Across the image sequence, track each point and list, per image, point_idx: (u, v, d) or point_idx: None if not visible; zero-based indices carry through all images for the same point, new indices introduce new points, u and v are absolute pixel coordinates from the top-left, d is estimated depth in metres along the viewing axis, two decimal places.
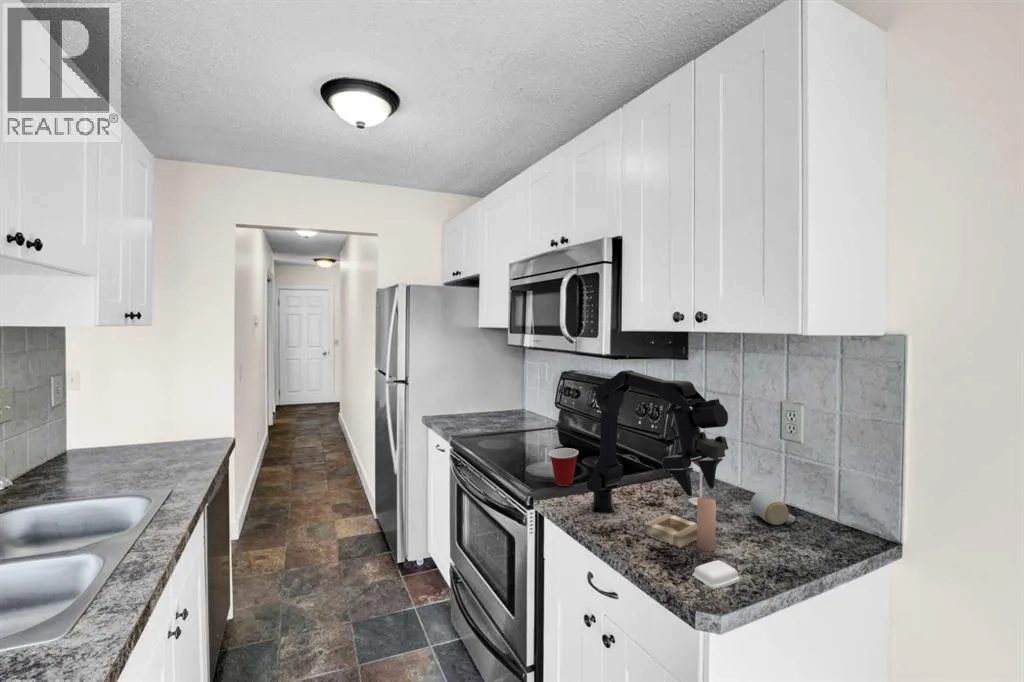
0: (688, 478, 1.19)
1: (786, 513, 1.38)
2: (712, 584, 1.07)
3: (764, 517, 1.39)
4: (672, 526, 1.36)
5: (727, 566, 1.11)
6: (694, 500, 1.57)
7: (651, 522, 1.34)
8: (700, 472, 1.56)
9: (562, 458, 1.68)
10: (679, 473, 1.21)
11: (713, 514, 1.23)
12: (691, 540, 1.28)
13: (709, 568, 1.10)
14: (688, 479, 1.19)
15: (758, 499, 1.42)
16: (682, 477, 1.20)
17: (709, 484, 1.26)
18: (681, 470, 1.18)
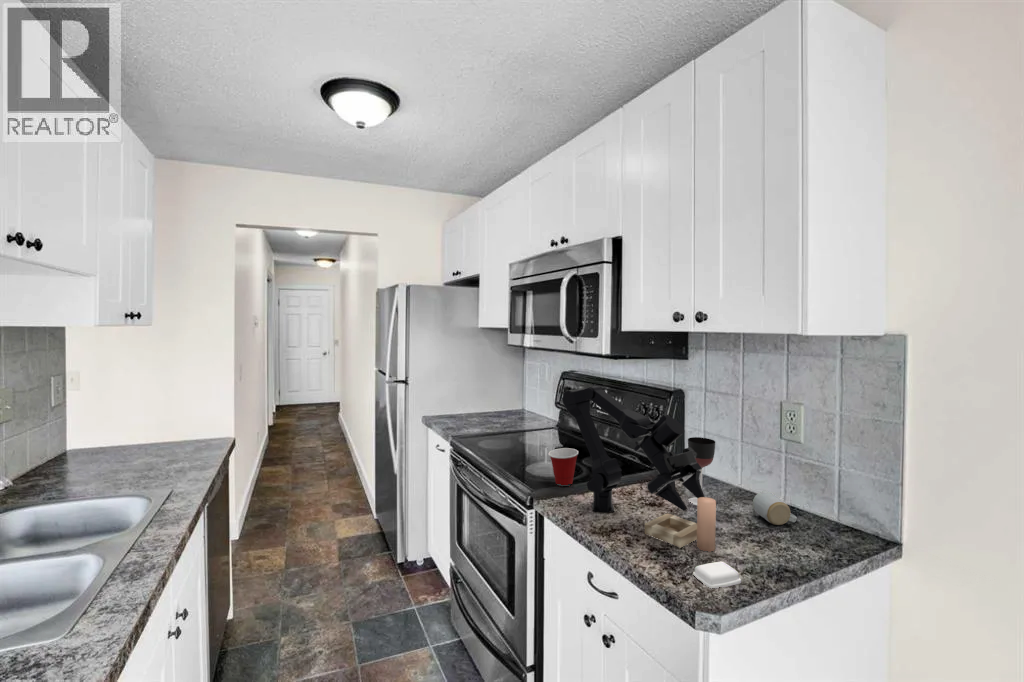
0: (676, 493, 1.25)
1: (788, 513, 1.38)
2: (709, 584, 1.07)
3: (766, 517, 1.39)
4: (672, 526, 1.36)
5: (729, 568, 1.10)
6: (694, 500, 1.57)
7: (651, 522, 1.34)
8: None
9: (562, 458, 1.68)
10: (667, 493, 1.27)
11: (713, 514, 1.23)
12: (691, 540, 1.28)
13: (709, 568, 1.10)
14: (676, 493, 1.25)
15: (760, 499, 1.42)
16: (671, 495, 1.26)
17: None
18: (665, 486, 1.25)
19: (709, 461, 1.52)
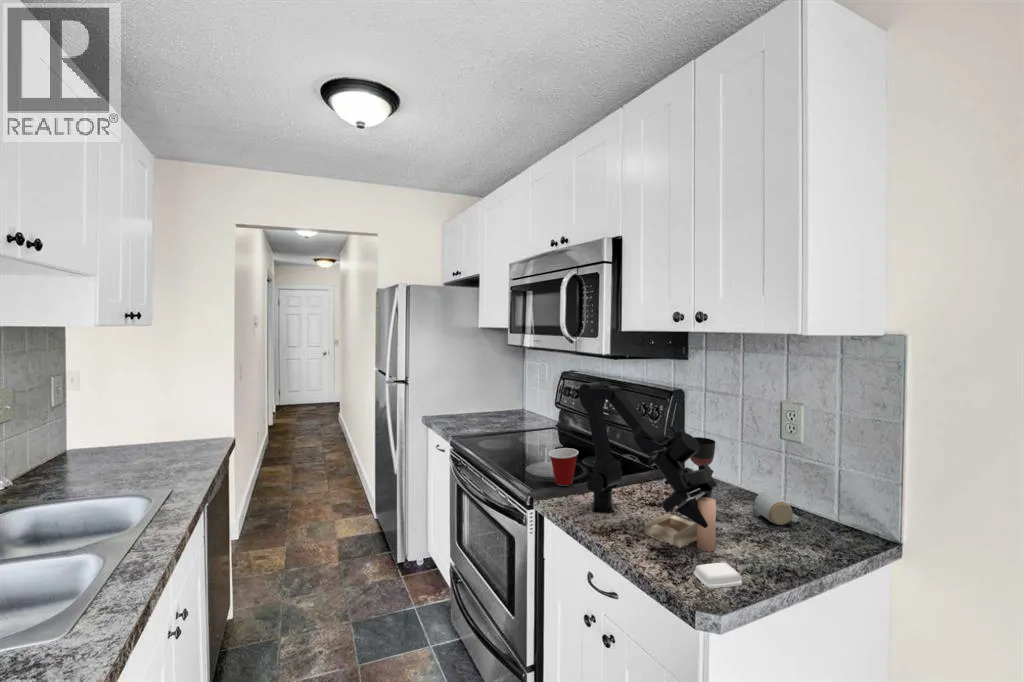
0: (696, 509, 1.23)
1: (790, 513, 1.38)
2: (707, 583, 1.07)
3: (768, 517, 1.39)
4: (672, 526, 1.36)
5: (730, 569, 1.10)
6: None
7: (651, 522, 1.34)
8: None
9: (562, 458, 1.68)
10: (687, 509, 1.25)
11: (713, 514, 1.23)
12: (691, 540, 1.28)
13: (709, 568, 1.10)
14: (697, 510, 1.23)
15: (762, 499, 1.42)
16: (691, 511, 1.24)
17: None
18: (686, 503, 1.23)
19: (709, 461, 1.52)
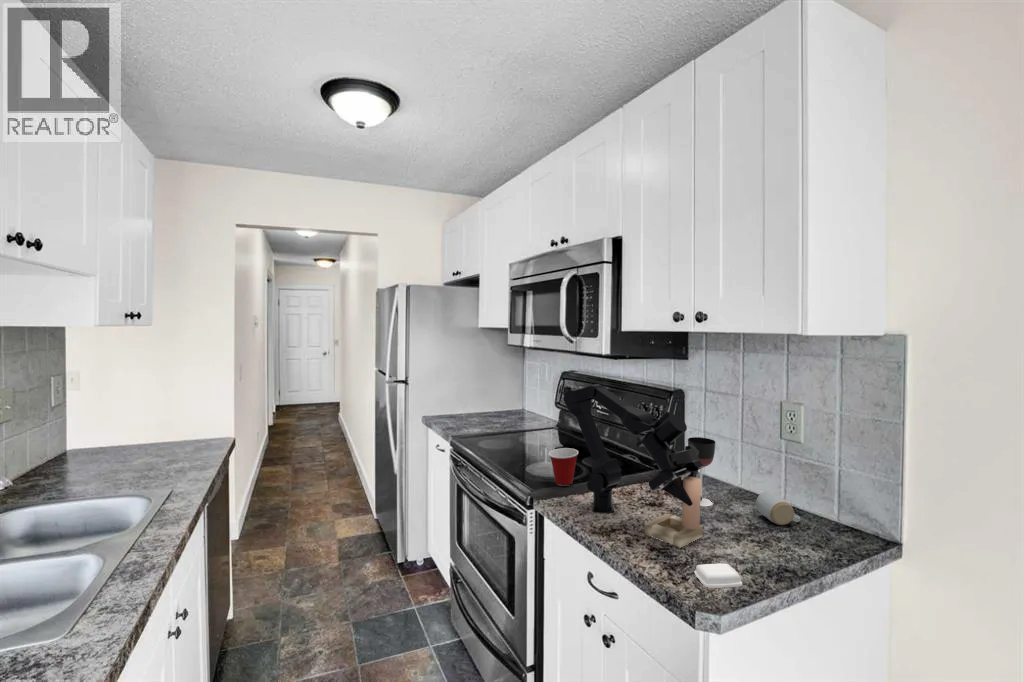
0: (682, 488, 1.26)
1: (791, 513, 1.38)
2: (706, 583, 1.07)
3: (769, 517, 1.39)
4: (672, 526, 1.36)
5: (731, 570, 1.09)
6: None
7: (651, 522, 1.34)
8: (700, 472, 1.56)
9: (562, 458, 1.68)
10: (673, 488, 1.28)
11: (698, 493, 1.26)
12: (691, 540, 1.28)
13: (709, 568, 1.10)
14: (682, 489, 1.26)
15: (763, 499, 1.42)
16: (677, 490, 1.27)
17: None
18: (672, 481, 1.26)
19: (709, 461, 1.52)
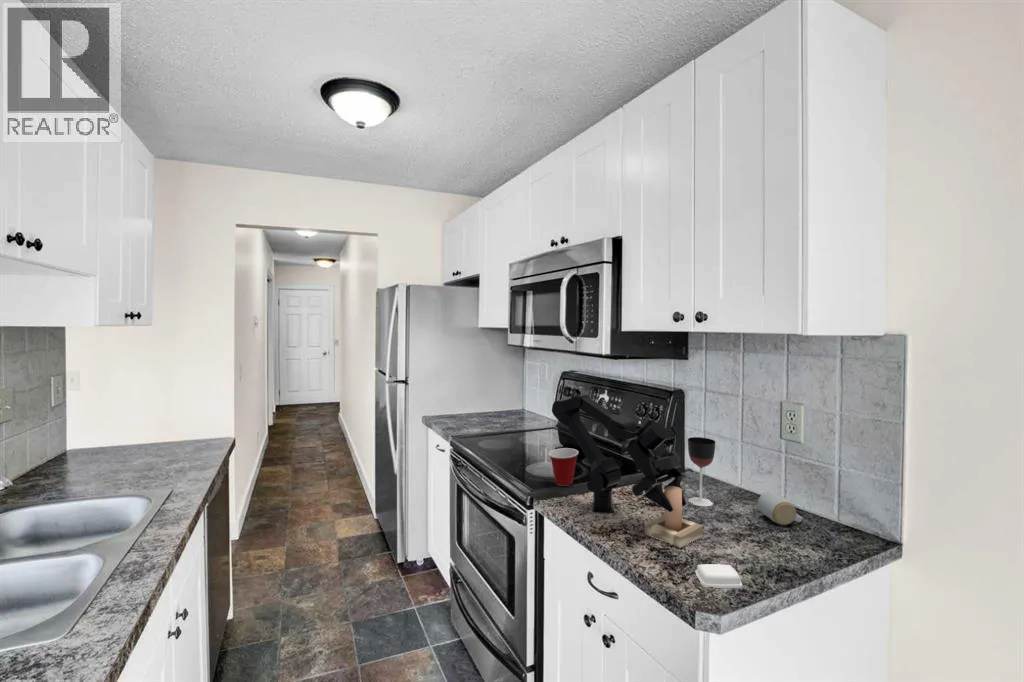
0: (662, 494, 1.30)
1: (793, 513, 1.38)
2: (704, 582, 1.08)
3: (771, 517, 1.39)
4: None
5: (731, 571, 1.09)
6: (694, 500, 1.57)
7: (651, 522, 1.34)
8: (700, 472, 1.56)
9: (562, 458, 1.68)
10: (654, 494, 1.32)
11: (679, 502, 1.30)
12: (691, 540, 1.28)
13: (709, 568, 1.10)
14: (663, 495, 1.30)
15: (765, 499, 1.42)
16: (658, 496, 1.31)
17: None
18: (653, 488, 1.29)
19: (709, 461, 1.52)
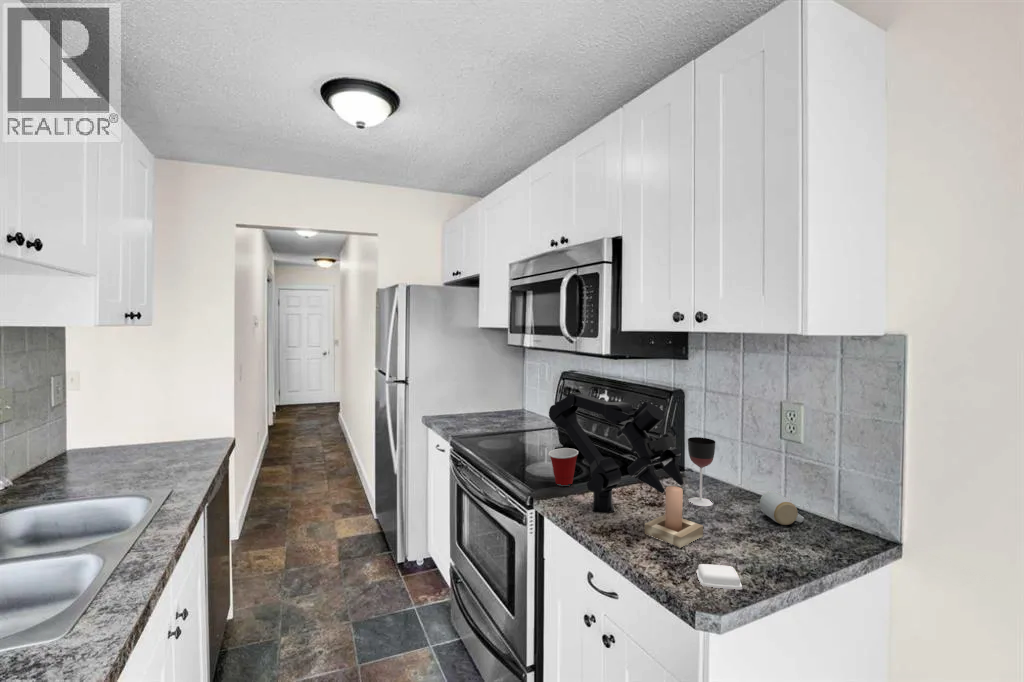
0: (654, 476, 1.30)
1: (795, 513, 1.38)
2: (702, 581, 1.08)
3: (773, 517, 1.39)
4: None
5: (732, 572, 1.08)
6: (694, 500, 1.57)
7: (651, 522, 1.34)
8: (700, 472, 1.56)
9: (562, 458, 1.68)
10: (646, 476, 1.32)
11: (680, 502, 1.30)
12: (691, 540, 1.28)
13: (709, 568, 1.10)
14: (655, 476, 1.30)
15: (767, 499, 1.42)
16: (650, 478, 1.31)
17: (679, 482, 1.35)
18: (644, 469, 1.29)
19: (709, 461, 1.52)
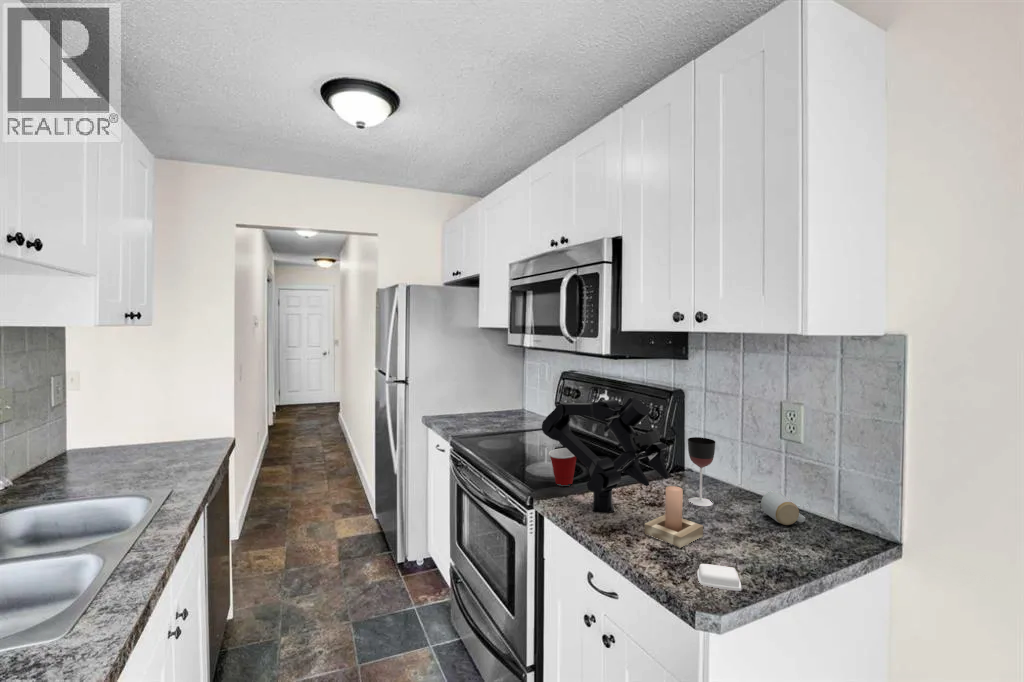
0: (639, 469, 1.34)
1: (797, 513, 1.38)
2: (701, 581, 1.08)
3: (774, 517, 1.39)
4: None
5: (732, 573, 1.08)
6: (694, 500, 1.57)
7: (651, 522, 1.34)
8: (700, 472, 1.56)
9: (562, 458, 1.68)
10: (631, 470, 1.35)
11: (680, 502, 1.30)
12: (691, 540, 1.28)
13: (710, 568, 1.10)
14: (639, 470, 1.34)
15: (768, 499, 1.42)
16: (635, 472, 1.35)
17: (664, 476, 1.39)
18: (629, 463, 1.33)
19: (709, 461, 1.52)
